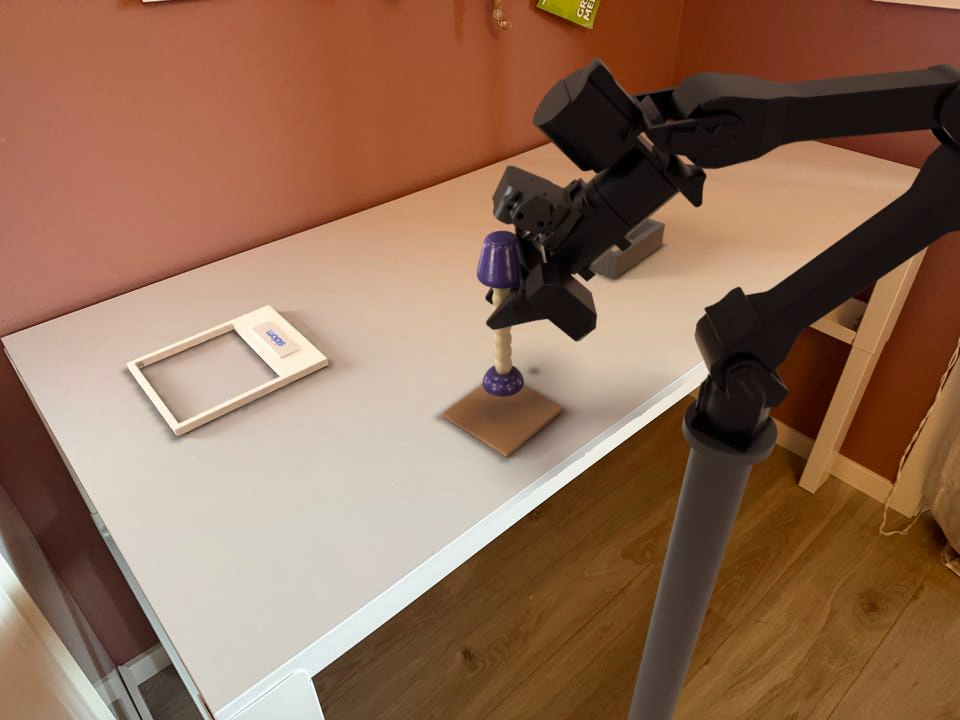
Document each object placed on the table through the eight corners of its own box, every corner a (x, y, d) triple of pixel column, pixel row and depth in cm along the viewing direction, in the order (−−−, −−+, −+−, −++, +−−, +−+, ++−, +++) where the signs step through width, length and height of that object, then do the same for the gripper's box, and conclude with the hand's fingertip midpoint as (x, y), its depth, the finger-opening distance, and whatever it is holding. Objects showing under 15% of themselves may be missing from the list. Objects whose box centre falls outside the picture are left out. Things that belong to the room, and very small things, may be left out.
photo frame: (327, 357, 82) (174, 428, 74) (328, 364, 83) (177, 436, 74) (268, 303, 91) (125, 361, 82) (270, 310, 92) (129, 369, 83)
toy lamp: (473, 374, 74) (466, 232, 64) (513, 362, 76) (513, 220, 65) (493, 402, 71) (489, 256, 60) (535, 388, 72) (538, 243, 62)
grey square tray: (661, 245, 103) (665, 223, 101) (614, 279, 96) (617, 256, 94) (593, 220, 110) (595, 199, 108) (544, 250, 103) (545, 228, 101)
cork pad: (561, 411, 76) (561, 407, 76) (506, 457, 71) (506, 454, 71) (498, 375, 81) (498, 372, 81) (442, 416, 76) (442, 413, 76)
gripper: (541, 100, 65) (428, 215, 72) (561, 191, 50) (418, 324, 57) (620, 179, 70) (507, 279, 77) (660, 282, 55) (516, 394, 62)
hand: (488, 313), depth 68 cm, fingers closed on toy lamp, 4 cm apart
